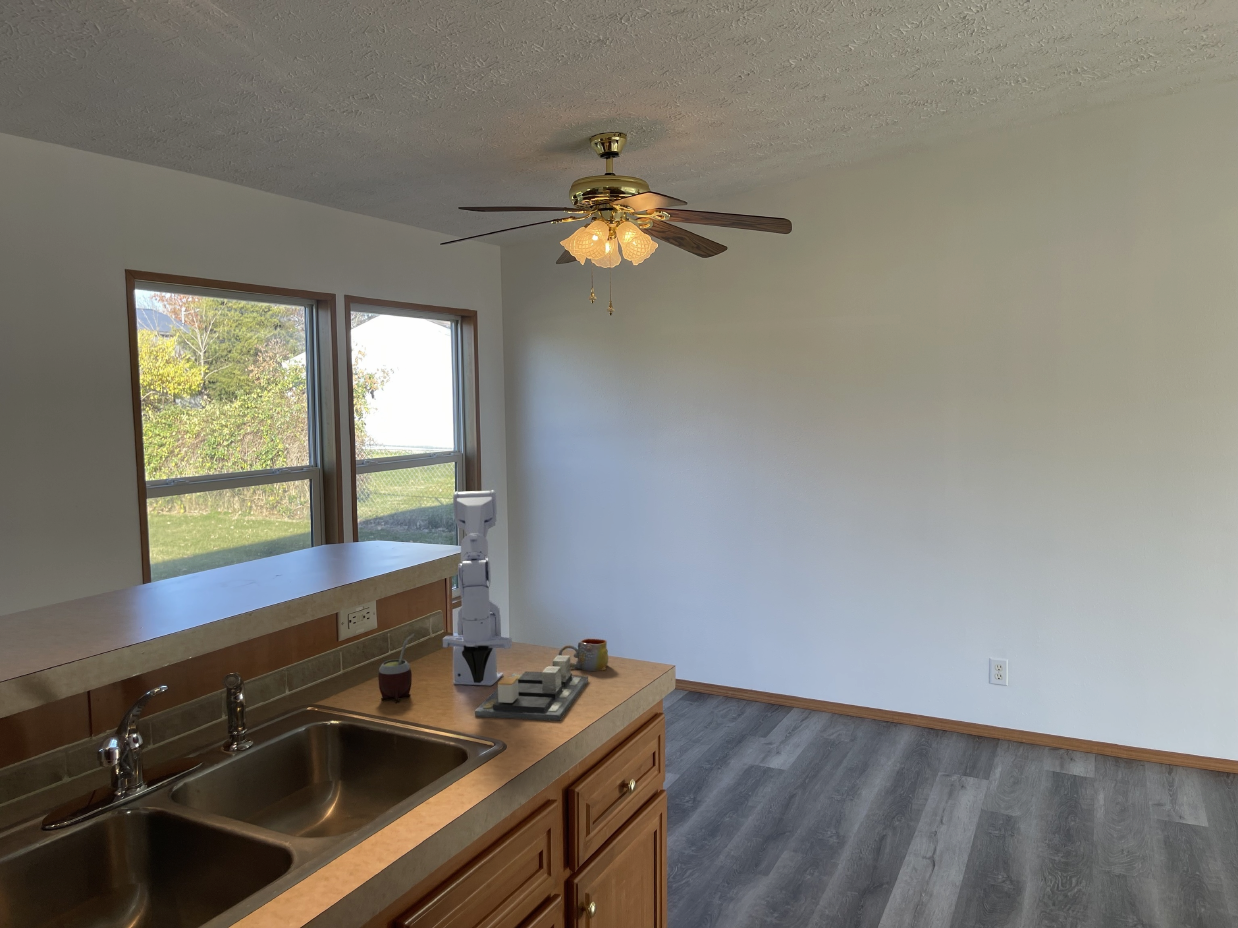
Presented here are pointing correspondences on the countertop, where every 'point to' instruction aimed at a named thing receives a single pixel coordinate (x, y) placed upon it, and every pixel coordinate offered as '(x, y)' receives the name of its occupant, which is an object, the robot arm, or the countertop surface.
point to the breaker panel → (538, 694)
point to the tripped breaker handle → (508, 689)
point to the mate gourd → (395, 678)
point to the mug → (589, 655)
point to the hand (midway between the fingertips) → (478, 681)
